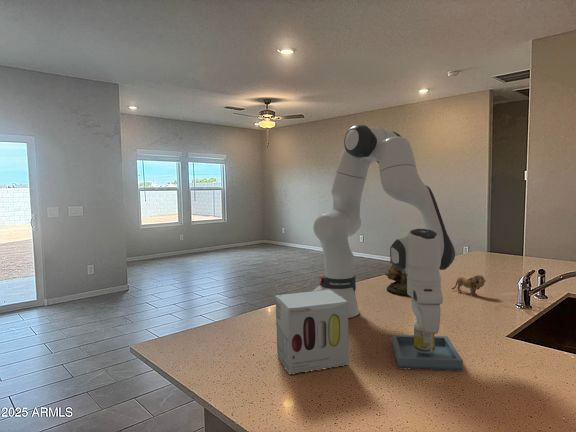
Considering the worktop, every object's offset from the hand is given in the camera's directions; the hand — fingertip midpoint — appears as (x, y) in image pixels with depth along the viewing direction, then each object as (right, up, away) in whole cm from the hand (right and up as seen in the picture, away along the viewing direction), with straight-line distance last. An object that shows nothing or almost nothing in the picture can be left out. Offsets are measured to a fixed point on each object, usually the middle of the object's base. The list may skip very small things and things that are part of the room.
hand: (424, 337), depth 109 cm
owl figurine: (+13, 0, +64) cm, 65 cm away
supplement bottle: (0, -4, 0) cm, 4 cm away
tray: (0, -6, 0) cm, 6 cm away
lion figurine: (+39, 0, +58) cm, 70 cm away
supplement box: (-31, -7, 0) cm, 32 cm away
